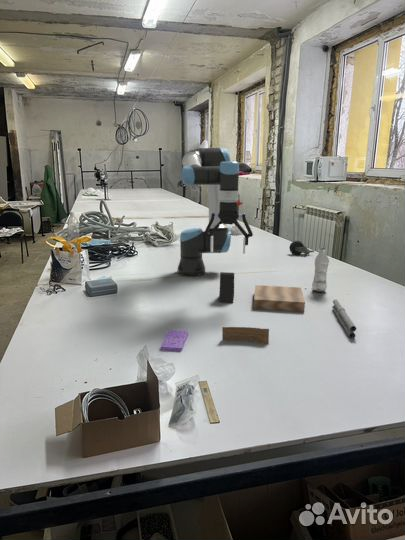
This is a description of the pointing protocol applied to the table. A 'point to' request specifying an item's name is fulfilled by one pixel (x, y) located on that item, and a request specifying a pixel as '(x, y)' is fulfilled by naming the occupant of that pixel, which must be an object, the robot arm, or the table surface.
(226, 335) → the wood plank
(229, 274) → the phone stand
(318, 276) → the plastic bottle
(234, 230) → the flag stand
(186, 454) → the table surface
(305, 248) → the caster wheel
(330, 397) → the table surface
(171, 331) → the sponges
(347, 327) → the metal rod assembly
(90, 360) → the table surface
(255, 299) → the wooden board
